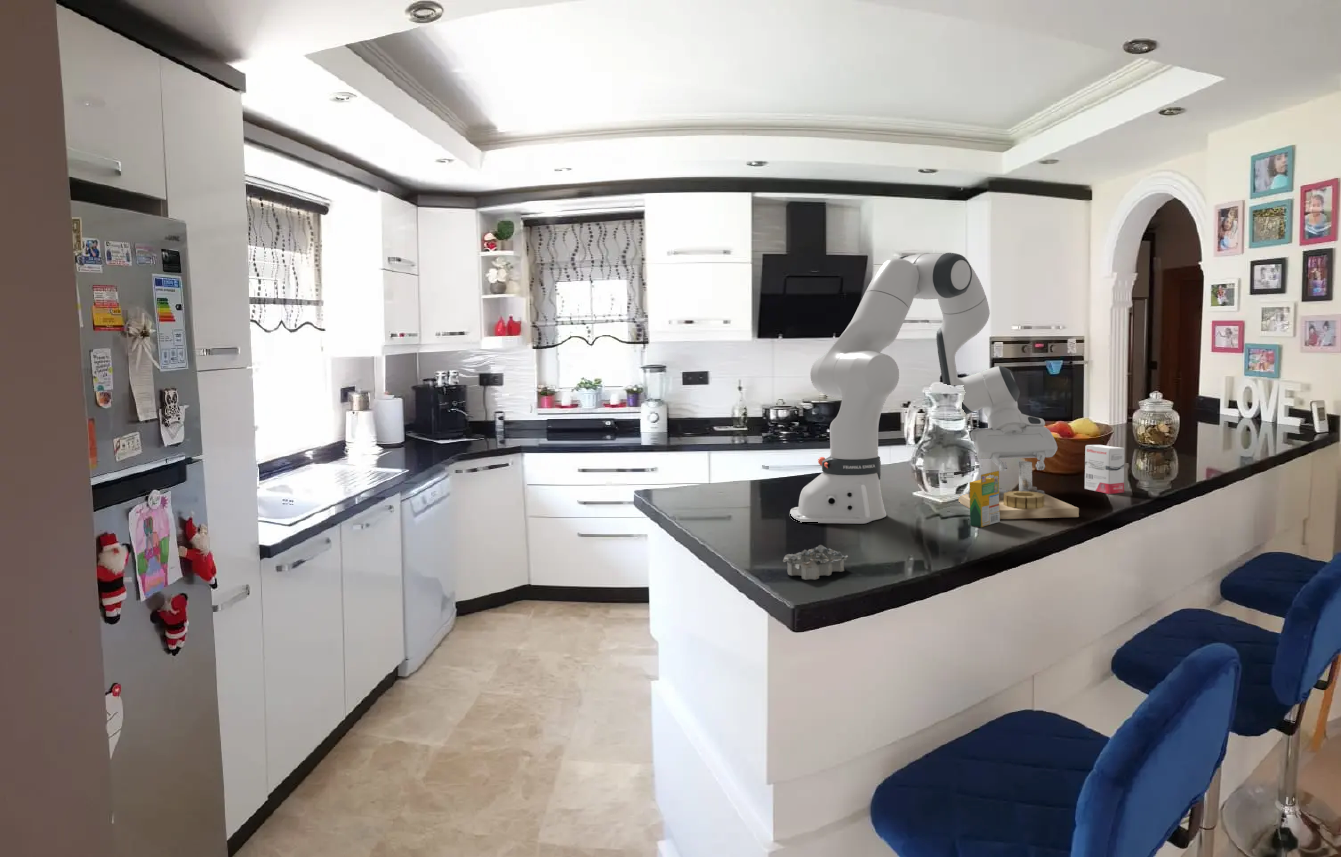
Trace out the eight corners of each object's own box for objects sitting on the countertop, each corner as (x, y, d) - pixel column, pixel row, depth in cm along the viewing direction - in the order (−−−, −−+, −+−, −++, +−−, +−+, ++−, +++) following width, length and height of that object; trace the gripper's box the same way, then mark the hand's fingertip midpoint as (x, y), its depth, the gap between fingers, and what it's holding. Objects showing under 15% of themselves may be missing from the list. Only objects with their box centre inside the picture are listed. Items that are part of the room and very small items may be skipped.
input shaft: (1021, 498, 190) (1021, 463, 190) (1017, 496, 193) (1017, 461, 193) (1033, 497, 190) (1034, 462, 189) (1028, 495, 193) (1029, 461, 192)
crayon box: (987, 520, 169) (987, 469, 168) (1000, 522, 166) (1000, 470, 165) (969, 525, 164) (968, 473, 163) (981, 527, 162) (981, 474, 161)
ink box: (1125, 492, 192) (1125, 447, 191) (1108, 494, 191) (1109, 448, 190) (1099, 487, 200) (1099, 443, 199) (1083, 489, 199) (1083, 445, 198)
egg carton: (809, 583, 129) (808, 560, 129) (779, 574, 136) (778, 551, 135) (852, 570, 135) (851, 548, 135) (821, 562, 141) (821, 541, 141)
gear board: (987, 519, 169) (987, 499, 169) (958, 502, 189) (958, 484, 189) (1078, 516, 168) (1078, 497, 167) (1040, 499, 188) (1040, 481, 187)
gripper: (971, 421, 200) (984, 463, 191) (1050, 418, 199) (1066, 460, 190) (965, 436, 205) (978, 477, 196) (1042, 433, 203) (1058, 475, 195)
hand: (1022, 469), depth 193 cm, fingers open, 8 cm apart
